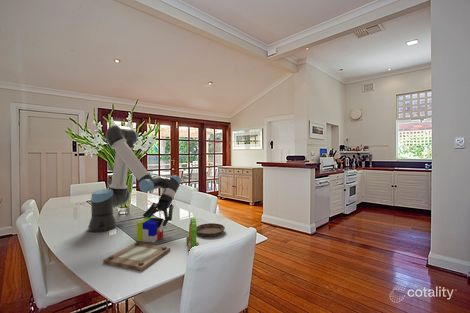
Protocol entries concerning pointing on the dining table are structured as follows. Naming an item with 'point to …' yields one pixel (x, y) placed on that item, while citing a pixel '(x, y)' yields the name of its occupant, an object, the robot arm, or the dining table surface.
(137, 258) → the base plate
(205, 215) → the dining table surface
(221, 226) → the plant saucer
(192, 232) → the green upright piece
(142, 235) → the puzzle toy
